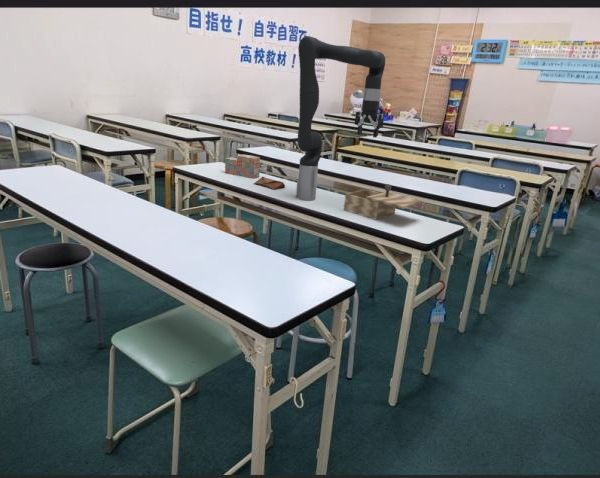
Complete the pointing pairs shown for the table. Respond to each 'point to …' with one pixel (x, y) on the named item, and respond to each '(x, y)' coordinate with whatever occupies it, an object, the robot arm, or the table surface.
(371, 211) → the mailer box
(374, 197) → the box lid
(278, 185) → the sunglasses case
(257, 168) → the stack of blocks
